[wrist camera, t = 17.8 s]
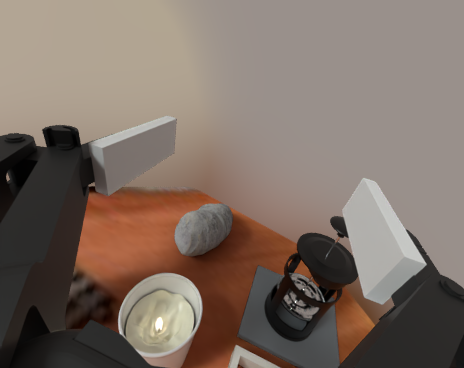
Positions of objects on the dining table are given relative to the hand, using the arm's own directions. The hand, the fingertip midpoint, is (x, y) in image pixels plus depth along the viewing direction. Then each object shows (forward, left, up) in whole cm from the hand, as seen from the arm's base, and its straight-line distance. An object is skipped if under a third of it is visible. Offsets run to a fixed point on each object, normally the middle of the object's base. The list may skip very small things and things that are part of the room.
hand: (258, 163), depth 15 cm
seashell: (+23, +10, -34) cm, 42 cm away
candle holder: (-1, +6, -34) cm, 35 cm away
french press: (+13, -13, -33) cm, 38 cm away
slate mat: (+13, -13, -34) cm, 38 cm away
